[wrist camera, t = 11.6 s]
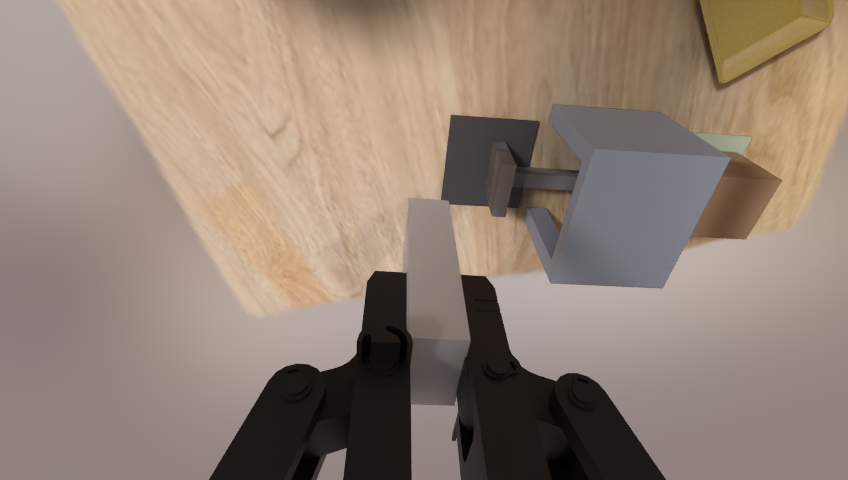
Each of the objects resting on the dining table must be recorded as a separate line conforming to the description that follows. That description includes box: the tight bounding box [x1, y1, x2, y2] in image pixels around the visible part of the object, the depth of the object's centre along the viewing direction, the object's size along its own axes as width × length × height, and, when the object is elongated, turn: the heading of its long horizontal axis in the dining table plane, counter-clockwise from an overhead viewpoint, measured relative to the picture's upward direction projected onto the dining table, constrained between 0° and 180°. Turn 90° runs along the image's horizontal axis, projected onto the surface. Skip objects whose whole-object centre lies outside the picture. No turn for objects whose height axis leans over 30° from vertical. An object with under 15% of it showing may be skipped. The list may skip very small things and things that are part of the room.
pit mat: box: [441, 115, 539, 208], centre depth 41 cm, size 8×9×1 cm
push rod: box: [484, 141, 782, 239], centre depth 39 cm, size 24×6×6 cm, turn 85°
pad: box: [692, 132, 752, 155], centre depth 42 cm, size 8×9×1 cm
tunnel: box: [524, 104, 731, 288], centre depth 37 cm, size 10×12×10 cm
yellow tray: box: [699, 0, 833, 84], centre depth 33 cm, size 9×9×2 cm
